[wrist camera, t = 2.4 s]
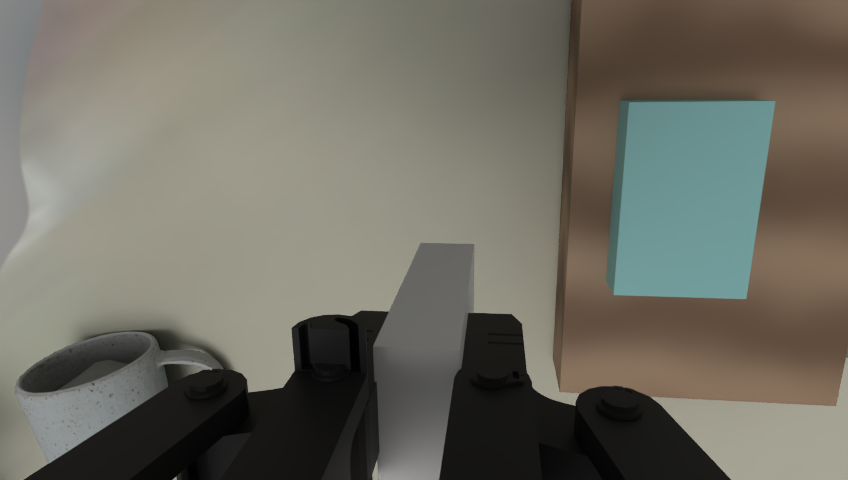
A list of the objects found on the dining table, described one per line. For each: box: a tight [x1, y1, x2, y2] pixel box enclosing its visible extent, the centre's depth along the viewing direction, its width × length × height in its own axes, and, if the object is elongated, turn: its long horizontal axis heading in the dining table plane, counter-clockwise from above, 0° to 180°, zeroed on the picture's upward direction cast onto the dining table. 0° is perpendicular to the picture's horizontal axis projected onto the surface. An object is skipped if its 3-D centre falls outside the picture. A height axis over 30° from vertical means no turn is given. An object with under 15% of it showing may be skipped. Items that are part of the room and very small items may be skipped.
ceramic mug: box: [15, 331, 224, 464], centre depth 36 cm, size 11×8×8 cm
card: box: [606, 99, 776, 299], centre depth 27 cm, size 9×6×2 cm, turn 1°
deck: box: [553, 0, 848, 406], centre depth 30 cm, size 22×14×4 cm, turn 1°
